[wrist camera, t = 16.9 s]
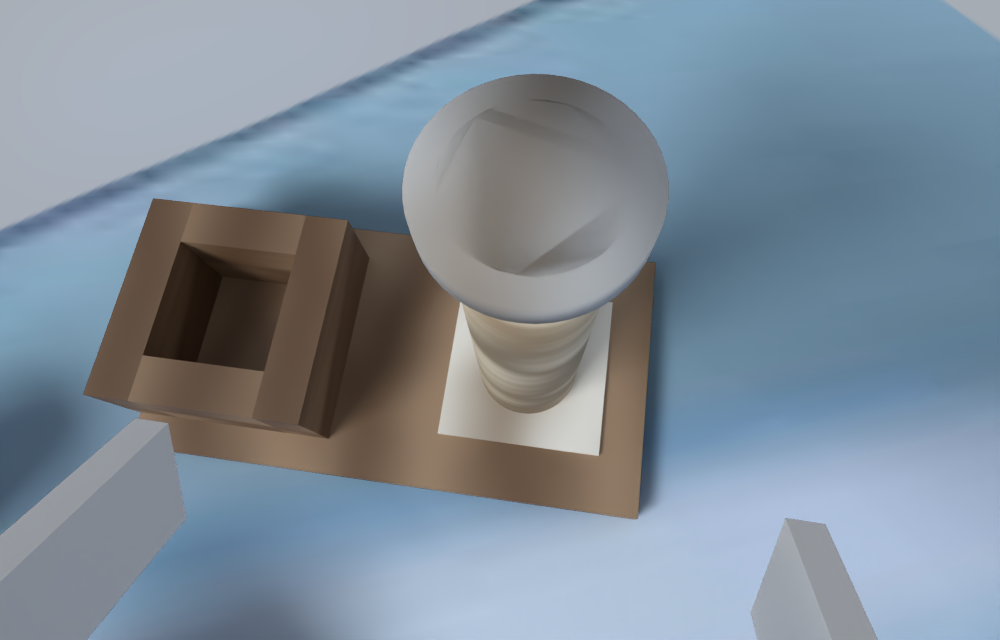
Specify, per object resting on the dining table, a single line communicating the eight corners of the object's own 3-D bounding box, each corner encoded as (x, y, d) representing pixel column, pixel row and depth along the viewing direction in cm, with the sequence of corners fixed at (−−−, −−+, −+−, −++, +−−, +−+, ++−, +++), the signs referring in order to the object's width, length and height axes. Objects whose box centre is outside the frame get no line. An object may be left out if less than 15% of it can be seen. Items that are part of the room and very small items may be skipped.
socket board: (651, 270, 31) (673, 224, 27) (633, 519, 28) (656, 516, 23) (215, 221, 33) (163, 169, 28) (143, 447, 29) (69, 431, 25)
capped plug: (596, 314, 29) (675, 85, 14) (585, 437, 28) (661, 324, 12) (475, 300, 30) (426, 63, 15) (456, 420, 28) (378, 291, 13)
